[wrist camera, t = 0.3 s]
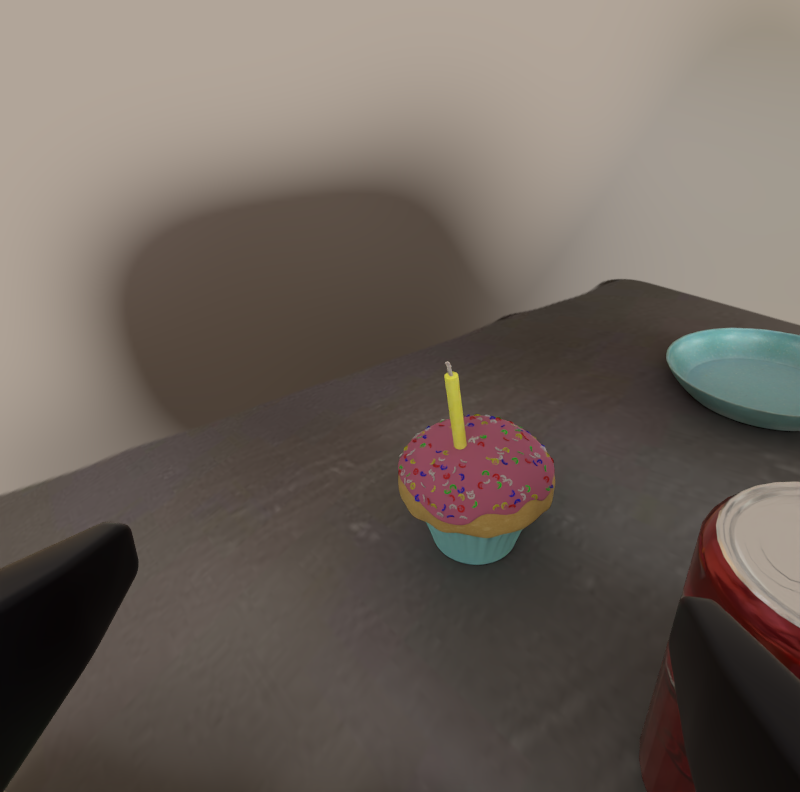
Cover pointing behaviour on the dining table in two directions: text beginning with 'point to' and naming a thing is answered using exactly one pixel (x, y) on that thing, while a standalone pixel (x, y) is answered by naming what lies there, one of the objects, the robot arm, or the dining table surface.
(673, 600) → the dining table surface
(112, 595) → the robot arm
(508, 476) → the cupcake
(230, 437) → the dining table surface
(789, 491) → the soda can
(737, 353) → the saucer
